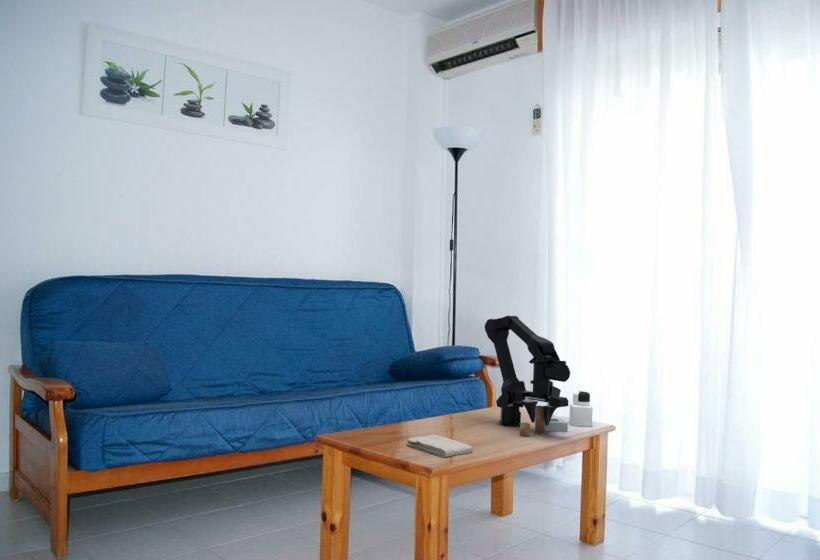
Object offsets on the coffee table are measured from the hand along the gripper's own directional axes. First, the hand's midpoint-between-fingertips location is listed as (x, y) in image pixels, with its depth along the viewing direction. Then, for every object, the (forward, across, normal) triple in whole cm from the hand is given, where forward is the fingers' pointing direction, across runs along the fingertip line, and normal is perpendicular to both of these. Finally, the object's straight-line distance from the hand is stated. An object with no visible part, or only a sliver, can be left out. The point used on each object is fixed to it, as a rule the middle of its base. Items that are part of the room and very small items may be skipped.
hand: (539, 424), depth 218 cm
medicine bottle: (+3, +2, -26) cm, 26 cm away
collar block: (+3, +3, -10) cm, 11 cm away
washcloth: (+4, +2, +45) cm, 45 cm away
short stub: (+3, 0, +8) cm, 8 cm away
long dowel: (+3, 0, 0) cm, 3 cm away
